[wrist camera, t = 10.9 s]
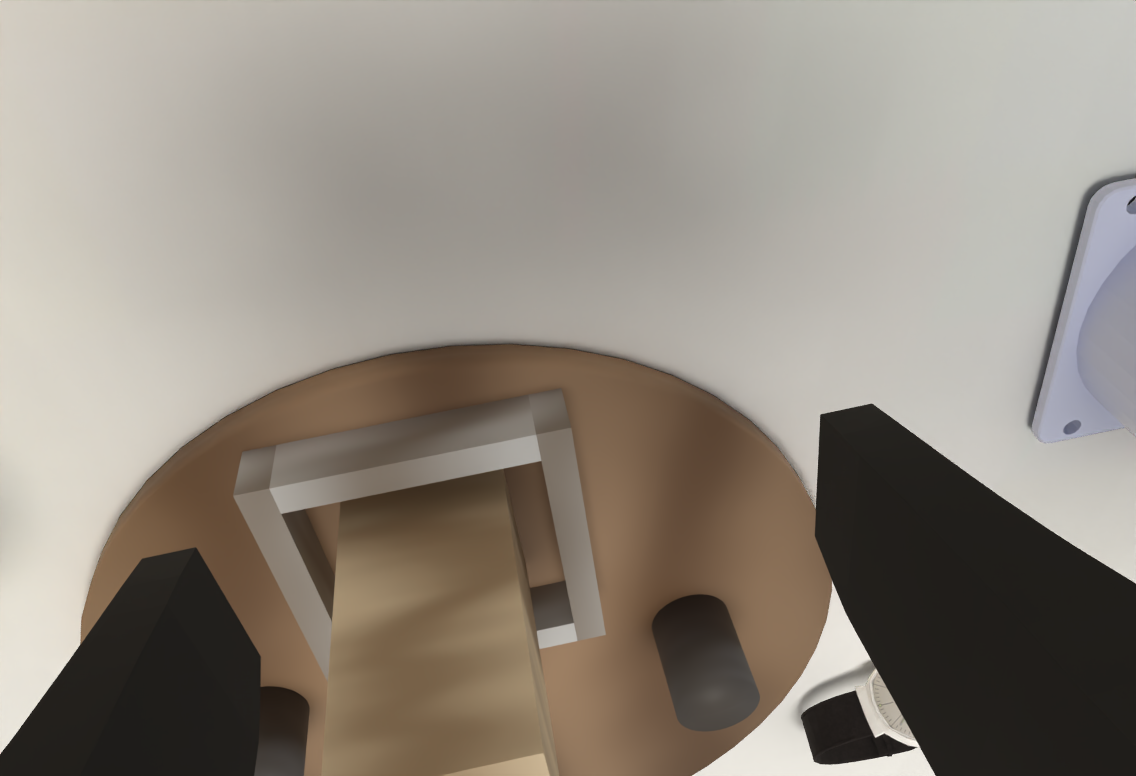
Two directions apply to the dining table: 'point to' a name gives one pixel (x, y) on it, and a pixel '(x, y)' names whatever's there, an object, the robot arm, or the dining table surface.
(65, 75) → the dining table surface
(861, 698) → the watch
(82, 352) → the dining table surface
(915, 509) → the robot arm
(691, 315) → the dining table surface
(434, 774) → the stool leg
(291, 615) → the stool seat
